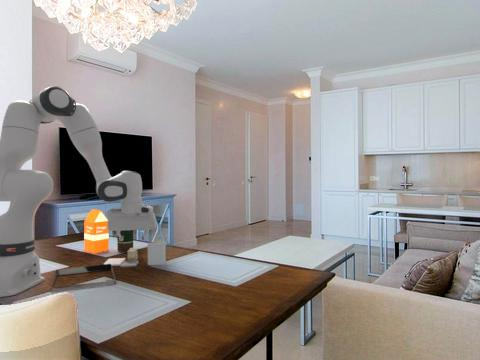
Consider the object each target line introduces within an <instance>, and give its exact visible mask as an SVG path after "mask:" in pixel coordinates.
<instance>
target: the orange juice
mask: <svg viewBox="0 0 480 360" xmlns="http://www.w3.org/2000/svg"><path fill="white" fill-rule="evenodd" d="M83 222H84V225H83V226H84V227H83V228H84V230H83V232H84V233H83V235H84V237H83V239H84V240H83V243H84V252H87V253H90V252H91V254H99V253H103V252H102V251H104V252H108V251H107V250H109V243H110V242H109V237H110V236H109V235H110V234H109V230H108V229H107V223H108V218H107V216H105V214H104V213H103V211H102V210H101V209H100V210H99V209H92V208H91V210H90V212H89V213H88V214H87V216H86V218H85V219H84V221H83ZM98 252H99V253H98Z"/></svg>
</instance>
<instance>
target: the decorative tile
mask: <svg viewBox="0 0 480 360" xmlns="http://www.w3.org/2000/svg"><path fill="white" fill-rule="evenodd" d="M102 270H103V271H111V274H112V276H113V278H112V279H107V280H105V281H103V280H102V281H97V282H87V283H80V284H72V285H64V286H54V284H55V281H56V279H57V276H63V275H75V274H76V275H77V274H83V273H92V272H93V273H94V272H103V271H102ZM54 273H55V274H54V276H53V279H52V284H51V286H50V292H49V293H55V292H56V293H57V292H64V291H70V290H79V289H80V288H81V289H87V288H88V287H90V288H96V286H98V287H104V286H103V285H106V286H112V285H111V284H114V285H116V284H115V283H116V275H115V272H114V269H113V266H112V265H111V264H105V265H104V263H102V264H96V265H88V266H80V267H70V268H62V269H61V268H60V269H56V270H55V272H54ZM114 279H115V280H114ZM88 289H89V288H88Z"/></svg>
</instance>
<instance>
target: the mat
mask: <svg viewBox="0 0 480 360" xmlns="http://www.w3.org/2000/svg"><path fill="white" fill-rule="evenodd" d="M124 261H126V257H122V258H120V257H118V258H116V257H115V258H107V260H106V261H105V262H104V263H103V264H104V265H105V264H111V265H112V267H118V266H120V267H121V264H122V263H123V262H124Z"/></svg>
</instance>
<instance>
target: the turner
mask: <svg viewBox="0 0 480 360" xmlns="http://www.w3.org/2000/svg"><path fill="white" fill-rule="evenodd" d="M126 253H127V261H126V260H125V261H124V262H123V263H122V264H121V266H120V268H133V267H137V266H138V264H139V260H138V247H133V248H130V249H129V250H128V251H127V252H126Z"/></svg>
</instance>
